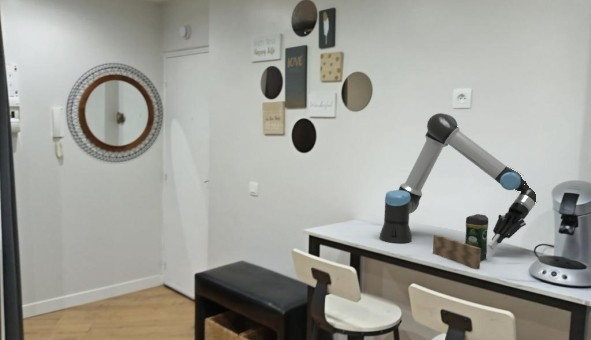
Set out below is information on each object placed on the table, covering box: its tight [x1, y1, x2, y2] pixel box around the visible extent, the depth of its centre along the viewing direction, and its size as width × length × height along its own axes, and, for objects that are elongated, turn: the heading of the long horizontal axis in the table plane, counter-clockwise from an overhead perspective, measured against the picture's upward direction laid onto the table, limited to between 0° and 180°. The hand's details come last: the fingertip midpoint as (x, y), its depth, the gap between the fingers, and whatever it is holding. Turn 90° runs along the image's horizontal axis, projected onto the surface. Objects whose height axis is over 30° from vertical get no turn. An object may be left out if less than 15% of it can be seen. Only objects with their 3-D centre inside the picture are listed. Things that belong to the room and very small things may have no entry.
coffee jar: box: [464, 213, 489, 261], centre depth 190 cm, size 10×8×19 cm
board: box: [432, 234, 481, 270], centre depth 186 cm, size 24×2×8 cm, turn 25°
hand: (491, 247), depth 194 cm, fingers closed
